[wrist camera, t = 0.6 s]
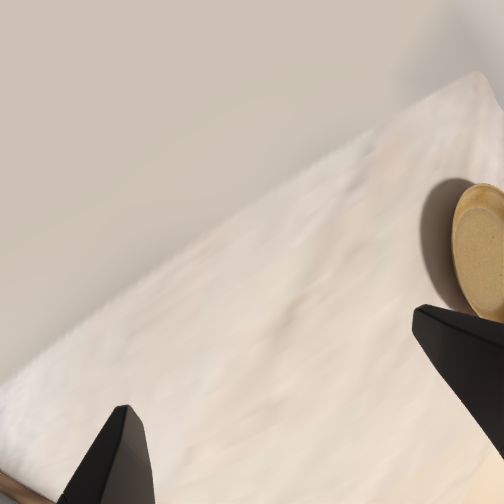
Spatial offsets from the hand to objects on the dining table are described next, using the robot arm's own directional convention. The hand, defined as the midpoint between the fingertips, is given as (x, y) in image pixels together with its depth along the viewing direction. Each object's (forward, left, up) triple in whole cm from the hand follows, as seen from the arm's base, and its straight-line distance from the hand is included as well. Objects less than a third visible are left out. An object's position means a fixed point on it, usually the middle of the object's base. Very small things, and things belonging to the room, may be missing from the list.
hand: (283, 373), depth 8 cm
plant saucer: (-10, -24, -15) cm, 30 cm away
